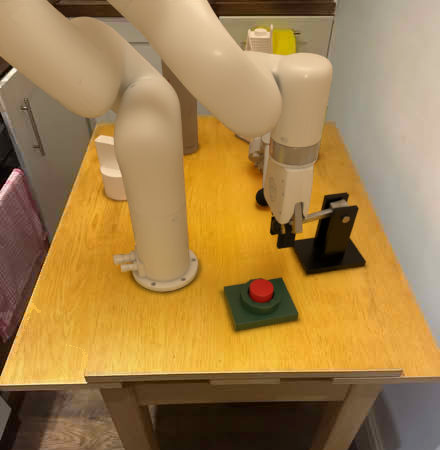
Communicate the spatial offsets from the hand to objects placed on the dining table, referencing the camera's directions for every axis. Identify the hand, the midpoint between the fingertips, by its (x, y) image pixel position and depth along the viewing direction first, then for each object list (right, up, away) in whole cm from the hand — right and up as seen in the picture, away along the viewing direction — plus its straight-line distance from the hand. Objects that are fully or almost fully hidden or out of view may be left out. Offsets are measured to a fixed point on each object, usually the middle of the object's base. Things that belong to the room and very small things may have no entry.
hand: (281, 239), depth 75 cm
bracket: (+10, -2, +6) cm, 12 cm away
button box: (-4, -12, -3) cm, 13 cm away
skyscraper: (-2, +33, +39) cm, 51 cm away
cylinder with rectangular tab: (-34, +15, +21) cm, 43 cm away
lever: (+5, +2, -1) cm, 6 cm away
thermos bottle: (-21, +29, +35) cm, 51 cm away
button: (-4, -10, -5) cm, 12 cm away
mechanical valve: (0, +16, +23) cm, 28 cm away
